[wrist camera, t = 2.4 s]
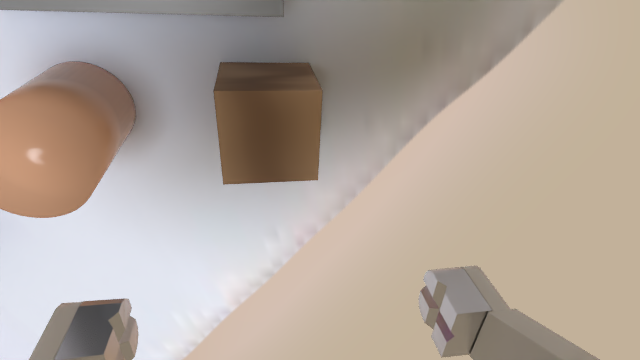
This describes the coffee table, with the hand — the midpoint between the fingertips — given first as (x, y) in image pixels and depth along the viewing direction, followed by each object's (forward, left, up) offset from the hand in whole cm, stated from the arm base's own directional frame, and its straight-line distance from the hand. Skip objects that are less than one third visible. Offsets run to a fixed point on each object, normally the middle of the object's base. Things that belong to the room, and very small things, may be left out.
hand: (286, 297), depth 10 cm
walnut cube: (0, 0, -15) cm, 15 cm away
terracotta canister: (+10, 0, -15) cm, 18 cm away
